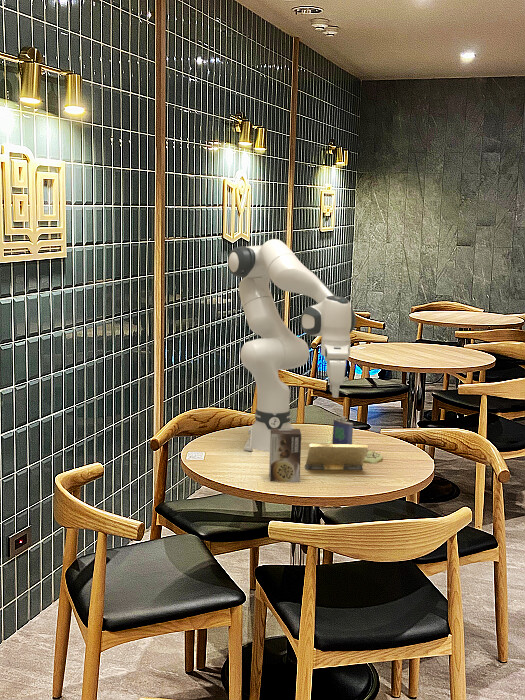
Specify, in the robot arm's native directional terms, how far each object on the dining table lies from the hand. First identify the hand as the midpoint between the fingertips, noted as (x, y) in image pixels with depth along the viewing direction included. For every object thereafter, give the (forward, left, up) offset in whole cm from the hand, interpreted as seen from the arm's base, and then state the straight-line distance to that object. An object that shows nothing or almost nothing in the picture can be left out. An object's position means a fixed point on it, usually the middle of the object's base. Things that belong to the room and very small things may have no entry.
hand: (333, 394), depth 255 cm
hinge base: (+2, +2, -26) cm, 26 cm away
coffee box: (+8, -15, -26) cm, 31 cm away
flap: (+1, +2, -21) cm, 21 cm away
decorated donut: (-16, +15, -26) cm, 34 cm away
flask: (-38, +11, -26) cm, 47 cm away
